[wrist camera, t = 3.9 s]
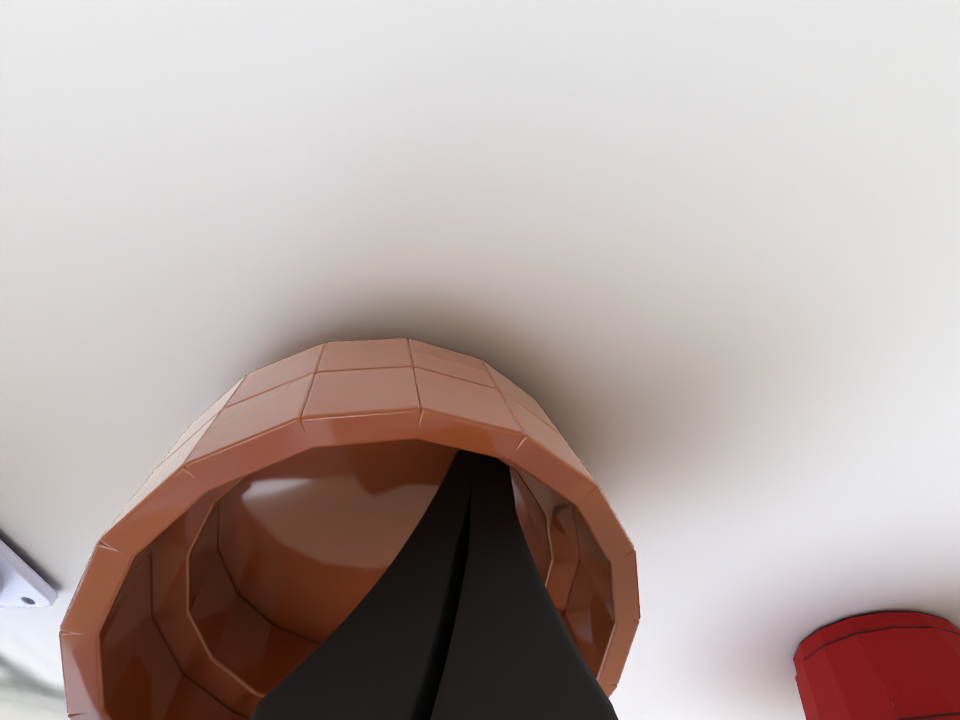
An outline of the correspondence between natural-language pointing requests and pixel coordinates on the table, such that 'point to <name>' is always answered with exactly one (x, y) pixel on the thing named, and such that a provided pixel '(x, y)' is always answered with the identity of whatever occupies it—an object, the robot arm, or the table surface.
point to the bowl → (322, 529)
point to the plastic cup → (881, 669)
